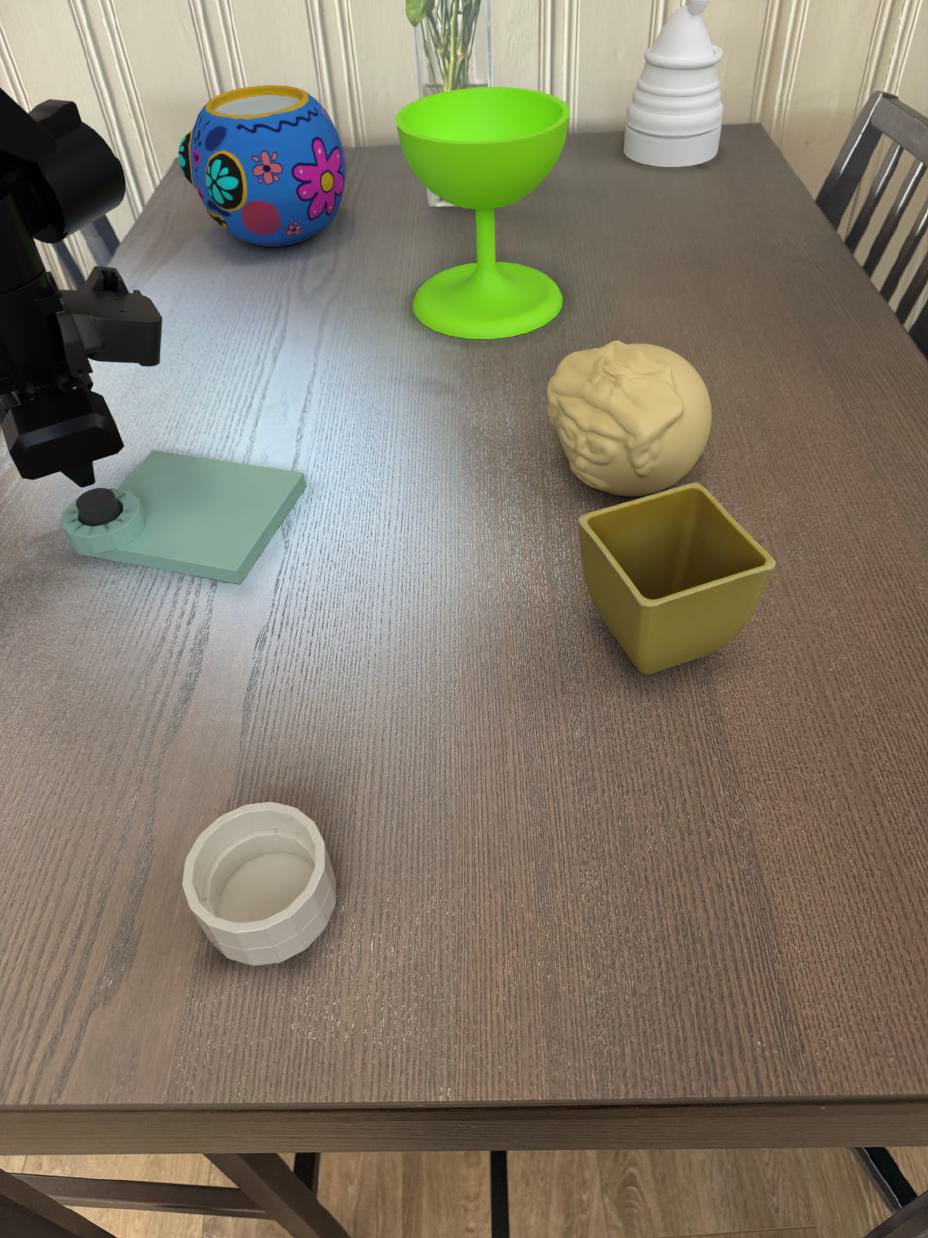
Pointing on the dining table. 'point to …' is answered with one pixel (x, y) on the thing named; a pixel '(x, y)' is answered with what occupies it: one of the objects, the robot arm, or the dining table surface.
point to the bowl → (260, 883)
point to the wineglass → (484, 200)
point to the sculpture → (629, 416)
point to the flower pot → (672, 575)
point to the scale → (191, 516)
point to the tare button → (98, 507)
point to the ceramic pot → (266, 164)
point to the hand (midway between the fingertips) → (87, 483)
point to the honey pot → (677, 95)
